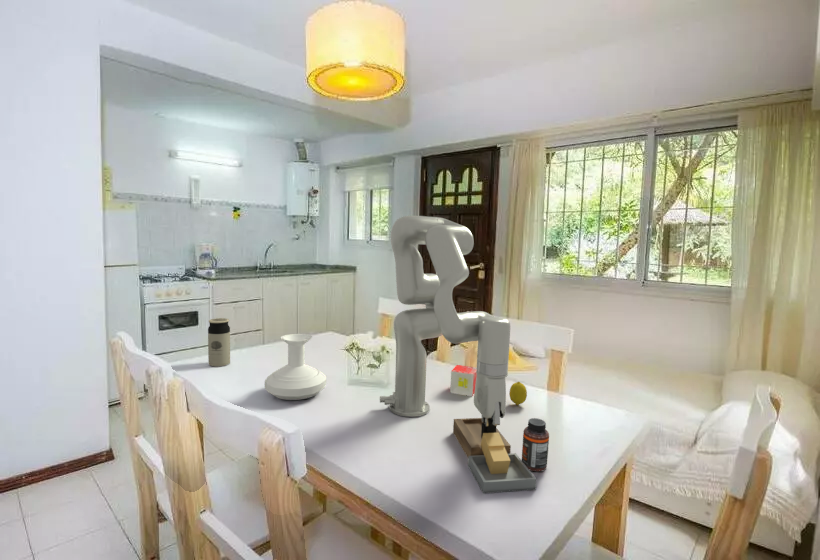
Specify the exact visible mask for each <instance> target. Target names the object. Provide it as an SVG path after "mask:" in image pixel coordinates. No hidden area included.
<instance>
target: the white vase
mask: <svg viewBox="0 0 820 560" xmlns="http://www.w3.org/2000/svg"><path fill="white" fill-rule="evenodd" d="M312 338H313V336H312V335H310V334H307V333H291V334H285V335H282V336H280V339H281V341H283V342H284V343H286V344H287V364H286V365H284V366H282V367H280V368H278V369H276V370H275V371H273V372H272V373H271V374H270V375H268V376H267V377H266V378H265V380H264V389H265V390H266V392H267V393H269V394H271V396H274V397H275V398H277V399H279V400H286V401H299V400H305V399H309V398H312V397H314V396H316V395H317V394H319V393H320V392H321V391H322V390H323V389H325V388H326V385H327V375H325V374H324V373H323V372H322V371H320V370H319V369H317V368H315V367H314V366H311V365H309V364H307V363H306V361H305V358H306V357H305V356H306V355H305V352H306V351H305V349H306V348H305V346H306V344H307V343H308V342H309V341H311V340H312Z"/></svg>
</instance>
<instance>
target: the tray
mask: <svg viewBox="0 0 820 560" xmlns="http://www.w3.org/2000/svg"><path fill="white" fill-rule="evenodd" d="M508 456H509V458H510V460H511V461H510V464H509V468H508V472H507V473H500V474H491V473H490V471H489V468H488V465H487V463H486V459H485V456H484V455H475V456H468V458H467V459H468V460H467V467H468V468H469V470H470V472H471V474H472V475H473V477H474V480H475V482H477V485H478V486H479V489H480V490H481V492H482V493H483V494H494V493H507V492H521V491H533V490H534V491H536V490H537V477H536V476H535V475H534V474H533V473H532V471H531V470H529V469H528V468H527V467H526V465H525V464H524V463H523V462H522V458H520V456H519V455H518V454H517V453H516V452H515V453H511V452H510V454H508Z"/></svg>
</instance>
